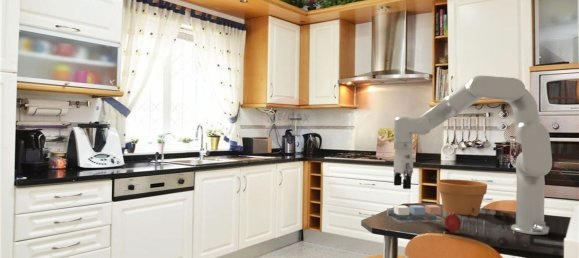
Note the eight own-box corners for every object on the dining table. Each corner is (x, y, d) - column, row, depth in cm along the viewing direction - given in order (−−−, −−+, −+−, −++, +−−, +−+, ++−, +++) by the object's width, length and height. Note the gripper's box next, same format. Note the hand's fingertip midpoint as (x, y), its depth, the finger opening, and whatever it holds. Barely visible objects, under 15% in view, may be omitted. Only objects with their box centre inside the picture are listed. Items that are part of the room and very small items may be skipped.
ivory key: (409, 214, 178) (409, 207, 178) (398, 215, 178) (398, 207, 178) (404, 212, 183) (404, 205, 183) (393, 212, 182) (394, 205, 182)
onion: (447, 230, 166) (448, 209, 166) (462, 232, 163) (463, 211, 163) (442, 232, 162) (442, 211, 162) (457, 235, 158) (458, 214, 158)
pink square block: (440, 214, 180) (441, 207, 180) (430, 214, 180) (430, 207, 180) (435, 211, 185) (435, 205, 185) (424, 212, 184) (425, 205, 184)
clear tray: (449, 224, 176) (449, 213, 176) (398, 225, 173) (398, 214, 173) (434, 217, 189) (434, 207, 189) (386, 218, 186) (386, 208, 186)
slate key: (425, 214, 179) (425, 207, 179) (414, 214, 179) (414, 207, 179) (420, 212, 184) (420, 205, 184) (409, 212, 183) (409, 205, 183)
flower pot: (477, 210, 206) (478, 179, 206) (493, 220, 186) (494, 185, 185) (432, 208, 209) (433, 178, 208) (443, 218, 188) (444, 184, 187)
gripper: (420, 147, 172) (419, 190, 172) (403, 145, 189) (402, 184, 189) (402, 147, 171) (401, 190, 171) (386, 145, 188) (386, 184, 188)
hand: (402, 187), depth 180 cm, fingers open, 9 cm apart
